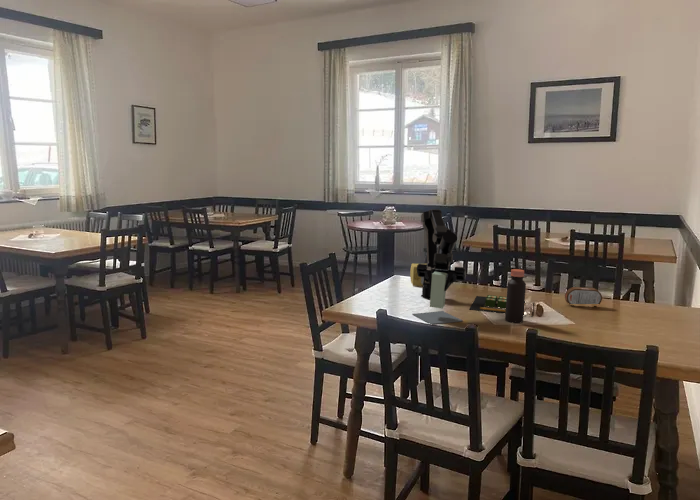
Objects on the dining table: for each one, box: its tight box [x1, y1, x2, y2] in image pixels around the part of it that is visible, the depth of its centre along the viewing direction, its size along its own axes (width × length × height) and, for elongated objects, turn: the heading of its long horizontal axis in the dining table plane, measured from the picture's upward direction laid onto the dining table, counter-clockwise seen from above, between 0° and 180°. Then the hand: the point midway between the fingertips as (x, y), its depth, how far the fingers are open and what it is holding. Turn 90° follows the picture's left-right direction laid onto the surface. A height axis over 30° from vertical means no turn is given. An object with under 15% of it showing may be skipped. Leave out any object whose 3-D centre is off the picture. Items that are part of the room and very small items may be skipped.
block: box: [429, 272, 448, 309], centre depth 207 cm, size 5×5×13 cm
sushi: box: [468, 294, 507, 314], centre depth 230 cm, size 25×25×4 cm
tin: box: [564, 286, 603, 305], centre depth 231 cm, size 15×3×8 cm, turn 84°
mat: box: [412, 310, 463, 325], centre depth 209 cm, size 14×14×1 cm
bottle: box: [504, 268, 527, 324], centre depth 206 cm, size 7×7×20 cm
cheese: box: [409, 263, 423, 287], centre depth 267 cm, size 10×11×10 cm
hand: (437, 290), depth 206 cm, fingers closed on block, 5 cm apart
